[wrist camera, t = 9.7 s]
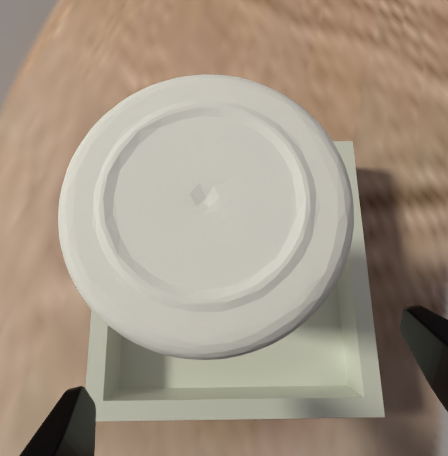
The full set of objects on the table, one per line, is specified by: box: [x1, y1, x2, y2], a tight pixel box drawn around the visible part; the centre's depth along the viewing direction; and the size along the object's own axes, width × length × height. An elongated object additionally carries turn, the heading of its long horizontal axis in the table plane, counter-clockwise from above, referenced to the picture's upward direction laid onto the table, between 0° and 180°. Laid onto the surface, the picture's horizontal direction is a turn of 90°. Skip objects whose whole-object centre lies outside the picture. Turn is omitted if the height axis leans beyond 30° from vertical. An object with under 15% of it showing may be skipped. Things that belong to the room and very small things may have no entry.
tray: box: [86, 141, 385, 421], centre depth 17 cm, size 13×13×3 cm
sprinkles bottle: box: [58, 75, 354, 360], centre depth 11 cm, size 5×4×14 cm
